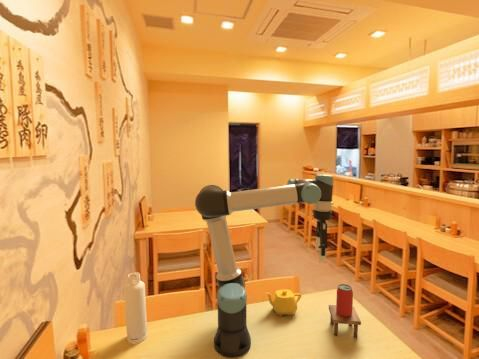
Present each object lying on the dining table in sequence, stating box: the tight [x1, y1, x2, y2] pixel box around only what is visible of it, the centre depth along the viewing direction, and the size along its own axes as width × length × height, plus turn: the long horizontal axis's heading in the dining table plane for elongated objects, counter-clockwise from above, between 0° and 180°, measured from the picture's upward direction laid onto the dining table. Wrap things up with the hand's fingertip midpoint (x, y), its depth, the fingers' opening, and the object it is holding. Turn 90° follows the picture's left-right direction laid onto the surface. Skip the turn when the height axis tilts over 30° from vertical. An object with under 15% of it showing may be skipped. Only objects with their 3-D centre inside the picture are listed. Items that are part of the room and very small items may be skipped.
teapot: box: [265, 289, 302, 317], centre depth 135 cm, size 18×11×11 cm, turn 95°
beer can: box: [335, 283, 354, 317], centre depth 120 cm, size 7×7×12 cm
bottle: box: [123, 271, 148, 345], centre depth 116 cm, size 8×8×28 cm
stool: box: [328, 304, 362, 339], centre depth 121 cm, size 11×11×8 cm
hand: (320, 256), depth 124 cm, fingers open, 13 cm apart
